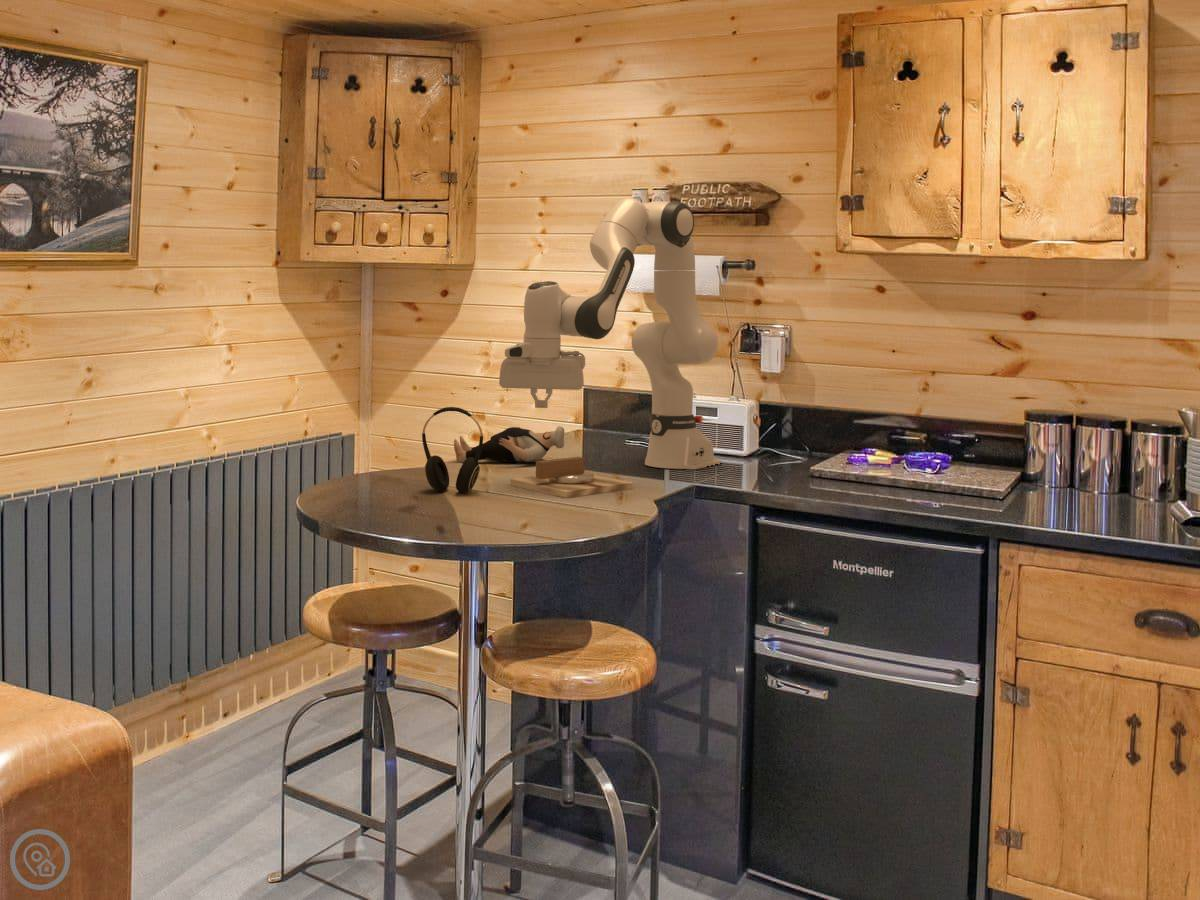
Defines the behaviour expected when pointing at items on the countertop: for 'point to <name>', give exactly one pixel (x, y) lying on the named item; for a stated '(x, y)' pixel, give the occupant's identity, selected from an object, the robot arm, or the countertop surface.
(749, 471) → the countertop surface
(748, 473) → the countertop surface
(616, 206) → the robot arm
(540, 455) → the figurine
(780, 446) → the countertop surface
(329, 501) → the countertop surface
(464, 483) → the headphones
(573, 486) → the dial plate
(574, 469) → the dial
